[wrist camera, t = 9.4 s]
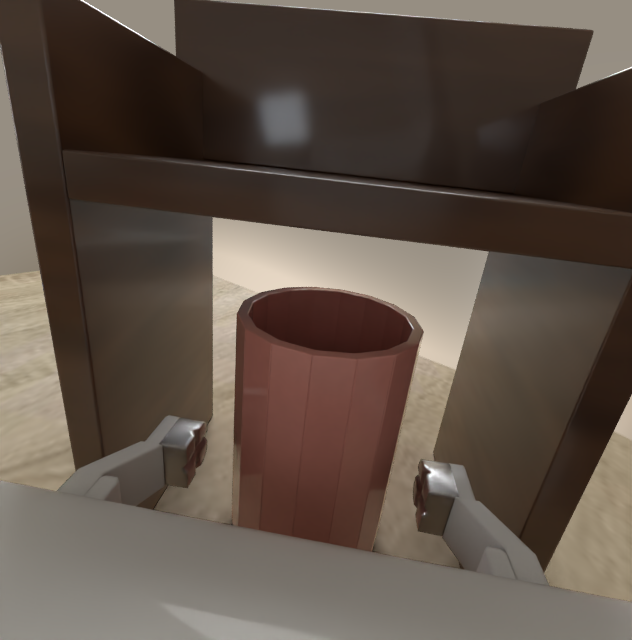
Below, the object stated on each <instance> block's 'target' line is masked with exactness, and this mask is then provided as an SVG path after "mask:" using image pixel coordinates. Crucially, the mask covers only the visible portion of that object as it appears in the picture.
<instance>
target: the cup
mask: <svg viewBox="0 0 632 640" xmlns="http://www.w3.org/2000/svg"><path fill="white" fill-rule="evenodd" d="M423 333H424V332H423V329H422V328H421V326H420V325H419V323H418V322H417V320H416V319H415V317H414V316H412V315H410V314H409V313H407V312H406V311H404V310H402V309H401V308H399V307H398V306H396V305H394V304H391V303H388V302H386V301H383V300H380V299H377V298H374V297H372V296H368V295H364V294H359V293H355V292H350V291H345V290H340V289H330V288H319V287H293V288H292V287H291V288H282V289H276V290H271V291H265V292H261V293H259V294H257V295H255V296H253V297H250V298H248V299H246V300H244V301H243V303H242V305H241V307H240V309H239V311H238V313H237V328H236V368H235V408H234V448H233V488H232V523H233V525H235V526H240V527H245V528H250V529H256V530H261V531H266V532H271V533H277V534H282V535H287V536H292V537H298V538H303V539H308V540H313V541H319V542H324V543H329V544H334V545H339V546H344V547H350V548H355V549H360V550H365V551H370V552H372V551H373V547H374V543H375V539H376V536H377V532H378V529H379V524H380V520H381V516H382V511H383V507H384V502H385V498H386V494H387V489H388V485H389V481H390V476H391V472H392V468H393V463H394V459H395V455H396V450H397V446H398V442H399V437H400V433H401V429H402V424H403V420H404V416H405V411H406V407H407V403H408V398H409V394H410V390H411V385H412V381H413V377H414V372H415V368H416V363H417V359H418V355H419V350H420V346H421V341H422V337H423Z"/></svg>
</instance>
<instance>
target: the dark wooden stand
mask: <svg viewBox="0 0 632 640" xmlns="http://www.w3.org/2000/svg"><path fill="white" fill-rule="evenodd" d="M174 6H175V37H176V38H175V39H176V56H174V55H173V54H171V53H169V52H168V51H166V50H164V49H163V48H161V47H160V46H158V45H156V44H154V43H153V42H151V41H149V40H148V39H146V38H145V37H143V36H141V35H139V34H138V33H136V32H135V31H133V30H131V29H130V28H128V27H126V26H125V25H123V24H121V23H120V22H118V21H116V20H115V19H113V18H111V17H110V16H108V15H106V14H105V13H103V12H101V11H100V10H98V9H97V8H95V7H93V6H91V5H90V4H88V3H87V2H85V1H83V0H0V49H1V54H2V60H3V65H4V71H5V77H6V83H7V88H8V94H9V100H10V104H11V111H12V116H13V122H14V128H15V133H16V139H17V144H18V150H19V156H20V161H21V166H22V172H23V178H24V184H25V189H26V195H27V200H28V206H29V212H30V217H31V223H32V229H33V234H34V240H35V245H36V251H37V256H38V262H39V267H40V274H41V279H42V285H43V290H44V296H45V302H46V307H47V313H48V318H49V324H50V330H51V335H52V341H53V347H54V352H55V358H56V363H57V369H58V375H59V380H60V386H61V391H62V397H63V403H64V408H65V414H66V420H67V425H68V431H69V436H70V442H71V448H72V453H73V459H74V464H75V470H76V471H77V470H78V469H79V468H81V467H84V466H86V465H88V464H90V463H93V462H95V461H97V460H99V459H102V458H104V457H106V456H109V455H111V454H113V453H115V452H118V451H120V450H122V449H124V448H127V447H129V446H131V445H133V444H136V443H138V442H140V441H144V442H145V441H146V440H147V438H148V437H149V436H150V435H151V434H152V432H153V431H154V430H155V429H156V428H157V426H158V425H159V424H160V423H161V422H162V420H163V419H164V418H165V417H166V416H168V415H171V416H176V417H180V418H181V417H182V418H187V419H192V420H197V421H202V422H206V424H207V423H208V422H209V420H210V419H211V417H212V415H213V274H212V217H216V218H224V219H232V220H240V221H248V222H256V223H264V224H272V225H281V226H289V227H297V228H305V229H313V230H321V231H329V232H337V233H345V234H353V235H361V236H369V237H378V238H385V239H393V240H402V241H409V242H417V243H425V244H433V245H441V246H449V247H457V248H466V249H474V250H482V251H489V253H488V257H487V261H486V264H485V268H484V271H483V275H482V278H481V282H480V286H479V289H478V293H477V296H476V300H475V304H474V307H473V311H472V314H471V318H470V322H469V325H468V329H467V332H466V336H465V340H464V344H463V347H462V350H461V354H460V358H459V361H458V365H457V369H456V372H455V376H454V379H453V383H452V387H451V390H450V394H449V397H448V401H447V405H446V408H445V412H444V415H443V419H442V423H441V426H440V430H439V433H438V437H437V441H436V444H435V448H434V451H433V453H434V457H435V461H436V462H442V463H448V464H449V463H450V464H457V465H463V466H464V467H465V470H466V473H467V476H468V479H469V482H470V485H471V488H472V491H473V494H474V497H475V500H476V501H480V502H481V503H482V504H483V505H484V506H485V507H486V508H487V509H488V510H489V511H491V512H492V513H493V514H494V515H495V516H496V517H497V518H498V519H499V520H500V521H501V522H502V523H503V524H504V525H505V526H506V527H507V528H508V529H509V530H510V531H511V532H513V533H514V534H515V535H516V536H517V537H518V538H519V539H520V540H521V541H522V542H523V543H524V544H525V545H526V546H527V547H528V548H529V549H530V550H531V551H532V552H533V553H534V554H536V556H537V559H538V561H539V563H540V566H541V568H542V570H543V572H545V570H546V568H547V566H548V564H549V562H550V560H551V558H552V555H553V553H554V551H555V549H556V547H557V545H558V543H559V541H560V539H561V537H562V535H563V533H564V531H565V529H566V527H567V525H568V523H569V521H570V519H571V517H572V515H573V513H574V511H575V509H576V507H577V505H578V503H579V501H580V499H581V497H582V494H583V492H584V490H585V488H586V486H587V484H588V482H589V480H590V478H591V476H592V474H593V472H594V470H595V468H596V466H597V464H598V462H599V460H600V458H601V456H602V454H603V452H604V450H605V448H606V446H607V444H608V442H609V440H610V438H611V435H612V433H613V431H614V429H615V427H616V425H617V423H618V421H619V419H620V417H621V415H622V413H623V411H624V409H625V407H626V405H627V403H628V401H629V399H630V397H631V394H632V67H631V68H628V69H626V70H623V71H621V72H618V73H615V74H613V75H610V76H608V77H605V78H603V79H600V80H598V81H595V82H593V83H591V84H588V85H586V86H583V87H580V88H578V89H576V86H577V83H578V80H579V77H580V74H581V71H582V67H583V64H584V61H585V58H586V54H587V51H588V48H589V45H590V42H591V39H592V35H593V30H586V29H573V28H559V27H546V26H534V25H521V24H507V23H494V22H482V21H468V20H456V19H443V18H429V17H417V16H404V15H391V14H378V13H365V12H352V11H339V10H326V9H314V8H300V7H287V6H274V5H260V4H249V3H236V2H223V1H210V0H174ZM167 486H168V485H165V486H164V487H163V488H161V489H160V490H158V491H157V492H155V493H154V494H153V495H151V496H150V497H148V498H147V499H145V500H144V501H142V502H141V503H140V504H138V505H137V506H136V507H142V508H147V509H152V510H153V508H154V506H155V505H156V503H157V502H158V500H159V499H160V497H161V495H162V494H163V492H164V491H165V489H166V488H167ZM459 563H460V562H459ZM460 568H461V569H464V568H463V566H462V565H461V563H460ZM464 570H465V569H464Z"/></svg>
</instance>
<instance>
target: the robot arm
mask: <svg viewBox="0 0 632 640" xmlns="http://www.w3.org/2000/svg"><path fill="white" fill-rule="evenodd" d="M206 432H207V424H206V422H202V421H197V420H192V419H187V418H182V417H181V418H180V417H176V416H171V415H168V416H166V417H165V418H164V419H163V420H162V422H161V423H160V424H159V425H158V426H157V428H156V429H155V430H154V431H153V432H152V434H151V435H150V436H149V437H148V438H147V440H146V441H145V442H144V441H140V442H138V443H136V444H133V445H131V446H129V447H127V448H124V449H122V450H120V451H118V452H115V453H113V454H111V455H109V456H106V457H104V458H102V459H99V460H97V461H95V462H93V463H90V464H88V465H86V466H84V467H81V468H79V469H78V470H77V471H76V472H75V473H74V474H73V475H72V476H71V477H70V478H69V479H68V480H67V481H66V482H65V483H64V484H63V485H62V486H61V487H60V488H59V489H58V490H57V491H53V490H48V489H43V488H38V487H33V486H28V485H22V484H17V483H12V482H7V481H2V480H0V640H632V602H631V601H625V600H620V599H615V598H610V597H605V596H599V595H594V594H589V593H584V592H578V591H573V590H568V589H563V588H558V587H552V586H549V584H548V582H547V579H546V577H545V575H544V572H543V570H542V568H541V566H540V563H539V561H538V559H537V556H536V554H534V553H533V552H532V551H531V550H530V549H529V548H528V547H527V546H526V545H525V544H524V543H523V542H522V541H521V540H520V539H519V538H518V537H517V536H516V535H515V534H514V533H513V532H511V531H510V530H509V529H508V528H507V527H506V526H505V525H504V524H503V523H502V522H501V521H500V520H499V519H498V518H497V517H496V516H495V515H494V514H493V513H492V512H491V511H489V510H488V509H487V508H486V507H485V506H484V505H483V504H482V503H481V502H480V501H476V500H475V497H474V494H473V491H472V488H471V485H470V482H469V479H468V476H467V473H466V470H465V467H464V466H463V465H457V464H450V463H449V464H448V463H442V462H436V461H430V460H424V459H421V460H420V462H419V466H418V471H419V475H417V476H416V477H415V481H414V487H413V501H414V505H415V506H416V507H417V511H416V514H415V515H416V522H417V529H418V531H420V532H424V533H429V534H434V535H438V536H443V537H442V538H443V539H444V541H445V542H446V544H447V545H448V546H449V548H450V549H451V551H452V552H453V554H454V555H455V556H456V558H457V559H458V561H459V562H460V563H461V565H462V566H463V568H464V569H465V570H464V569H459V568H454V567H448V566H443V565H438V564H433V563H428V562H422V561H417V560H411V559H406V558H401V557H396V556H391V555H386V554H380V553H375V552H370V551H365V550H360V549H355V548H350V547H344V546H339V545H334V544H329V543H324V542H319V541H313V540H308V539H303V538H298V537H292V536H287V535H282V534H277V533H271V532H266V531H261V530H256V529H250V528H245V527H240V526H235V525H230V524H224V523H219V522H214V521H209V520H204V519H199V518H193V517H188V516H183V515H178V514H173V513H167V512H162V511H157V510H152V509H147V508H142V507H136V506H137V505H138V504H140V503H141V502H142V501H144V500H145V499H147V498H148V497H150V496H151V495H153V494H154V493H155V492H157V491H158V490H160V489H161V488H163V487H164V486H165V485H171V486H177V487H183V488H188V486H189V485H190V483H191V481H192V480H193V478H194V476H195V468H197V467H199V466H201V464H202V462H203V460H204V457H205V454H206V450H207V440H206V438H205V437H204V435H205V434H206Z"/></svg>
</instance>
